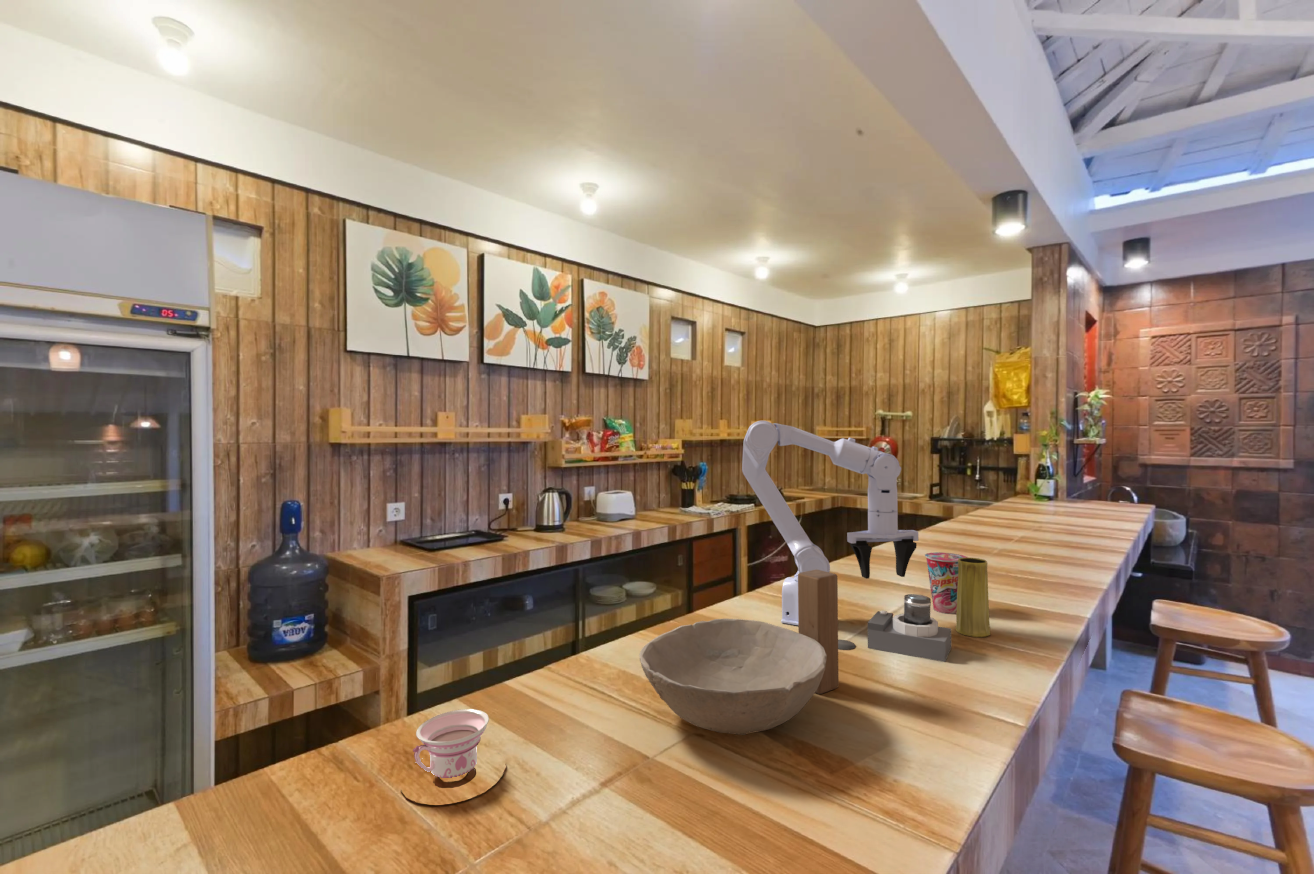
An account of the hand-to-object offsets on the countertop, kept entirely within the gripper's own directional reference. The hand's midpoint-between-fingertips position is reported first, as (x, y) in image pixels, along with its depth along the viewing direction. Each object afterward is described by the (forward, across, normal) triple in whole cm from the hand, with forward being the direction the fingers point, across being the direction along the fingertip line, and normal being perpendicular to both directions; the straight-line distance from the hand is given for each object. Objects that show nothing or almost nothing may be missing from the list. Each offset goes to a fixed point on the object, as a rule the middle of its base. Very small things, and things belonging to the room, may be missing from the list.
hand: (883, 576), depth 124 cm
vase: (+10, +15, -7) cm, 19 cm away
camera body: (+10, -2, -13) cm, 16 cm away
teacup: (+10, -77, -43) cm, 88 cm away
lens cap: (+10, -13, -10) cm, 19 cm away
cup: (+10, +19, +7) cm, 22 cm away
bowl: (+10, -40, -34) cm, 54 cm away
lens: (+6, -1, -14) cm, 15 cm away
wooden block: (+10, -26, -24) cm, 37 cm away
